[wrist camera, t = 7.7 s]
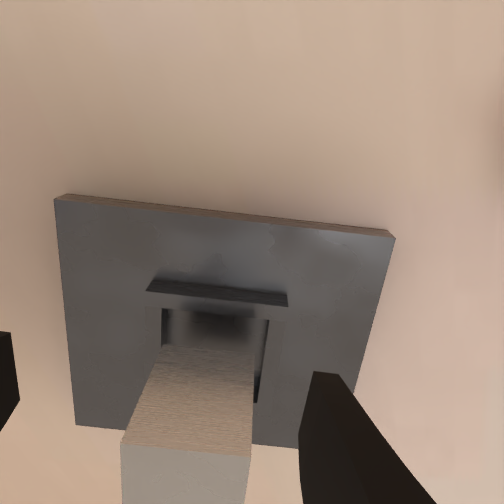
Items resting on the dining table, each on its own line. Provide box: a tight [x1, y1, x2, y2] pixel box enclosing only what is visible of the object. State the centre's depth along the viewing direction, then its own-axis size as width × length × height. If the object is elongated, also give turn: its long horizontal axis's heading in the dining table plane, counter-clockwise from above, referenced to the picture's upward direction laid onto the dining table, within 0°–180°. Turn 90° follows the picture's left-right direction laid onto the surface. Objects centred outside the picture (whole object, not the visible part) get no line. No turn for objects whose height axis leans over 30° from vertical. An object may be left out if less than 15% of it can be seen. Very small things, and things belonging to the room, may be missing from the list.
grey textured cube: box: [120, 344, 255, 504], centre depth 14 cm, size 4×4×5 cm
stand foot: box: [54, 194, 396, 449], centre depth 19 cm, size 16×14×2 cm
